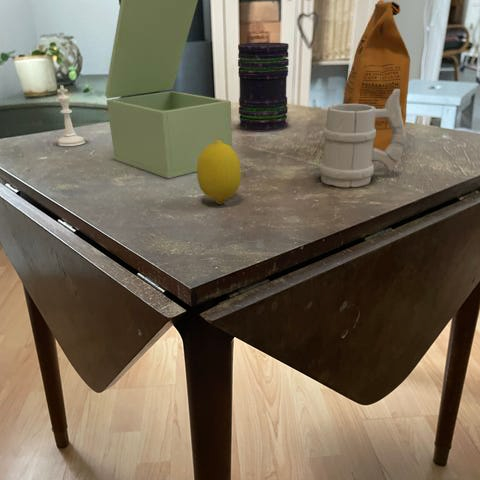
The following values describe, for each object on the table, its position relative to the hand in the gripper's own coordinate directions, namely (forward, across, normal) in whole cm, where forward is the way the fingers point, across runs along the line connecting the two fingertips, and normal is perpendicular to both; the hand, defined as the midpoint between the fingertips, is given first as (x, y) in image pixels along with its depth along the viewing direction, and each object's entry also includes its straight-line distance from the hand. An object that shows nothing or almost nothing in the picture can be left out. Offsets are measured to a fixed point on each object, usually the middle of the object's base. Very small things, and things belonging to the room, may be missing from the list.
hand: (145, 11), depth 80 cm
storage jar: (+21, -29, -6) cm, 37 cm away
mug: (+22, -13, +31) cm, 41 cm away
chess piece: (+21, +6, -21) cm, 30 cm away
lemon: (+22, +8, +25) cm, 34 cm away
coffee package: (+22, -27, +22) cm, 41 cm away
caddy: (+21, 0, +3) cm, 22 cm away
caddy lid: (+5, 0, +1) cm, 5 cm away
